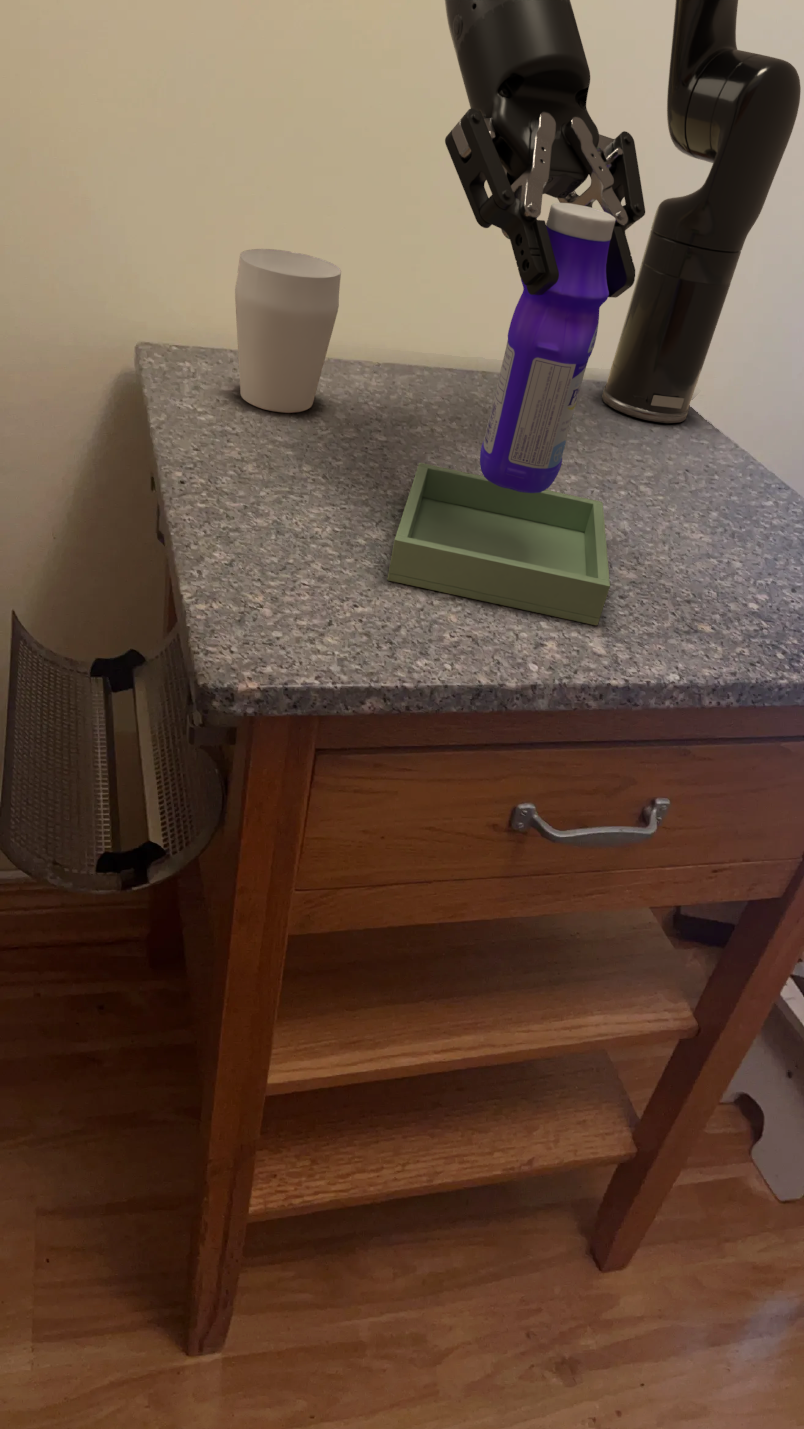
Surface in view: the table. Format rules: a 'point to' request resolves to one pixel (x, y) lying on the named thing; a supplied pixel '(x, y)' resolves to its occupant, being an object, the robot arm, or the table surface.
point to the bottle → (548, 355)
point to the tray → (503, 545)
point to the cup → (283, 326)
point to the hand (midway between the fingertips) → (583, 289)
